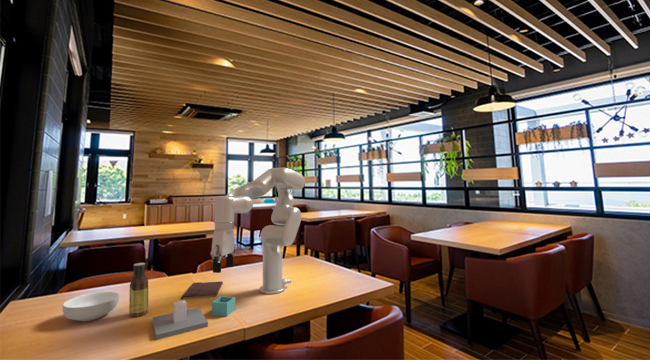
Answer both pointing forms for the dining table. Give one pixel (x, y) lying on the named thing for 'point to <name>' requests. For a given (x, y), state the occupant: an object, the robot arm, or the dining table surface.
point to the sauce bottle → (138, 291)
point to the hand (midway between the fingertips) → (223, 269)
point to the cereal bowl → (90, 306)
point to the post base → (178, 327)
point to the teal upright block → (223, 306)
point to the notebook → (202, 290)
